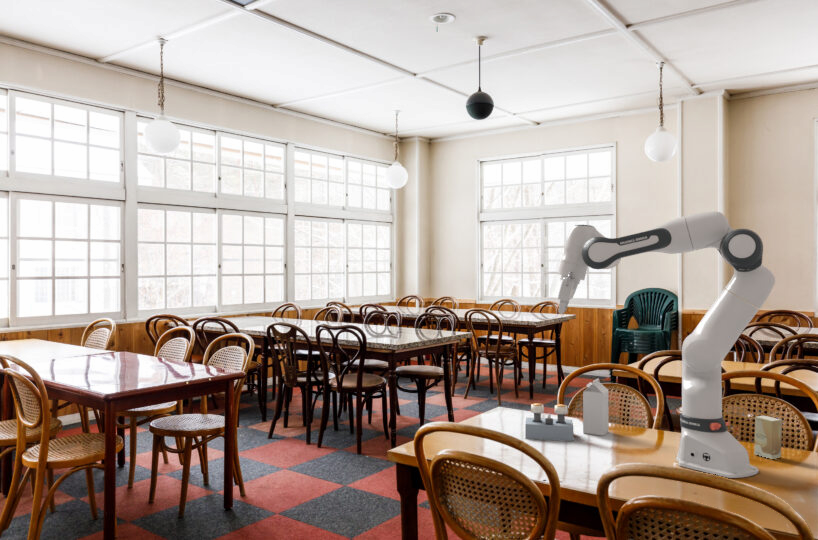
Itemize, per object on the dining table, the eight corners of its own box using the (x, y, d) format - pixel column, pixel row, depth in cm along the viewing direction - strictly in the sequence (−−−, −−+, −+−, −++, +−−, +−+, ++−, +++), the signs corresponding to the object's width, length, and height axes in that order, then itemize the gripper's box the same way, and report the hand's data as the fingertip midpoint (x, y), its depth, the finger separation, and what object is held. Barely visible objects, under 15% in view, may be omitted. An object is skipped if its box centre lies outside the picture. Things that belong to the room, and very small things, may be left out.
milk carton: (608, 431, 227) (608, 379, 227) (603, 436, 221) (603, 382, 221) (588, 429, 231) (588, 377, 231) (582, 433, 225) (582, 380, 225)
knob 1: (543, 424, 224) (543, 403, 224) (543, 427, 220) (543, 405, 220) (531, 424, 225) (531, 402, 225) (530, 427, 221) (530, 405, 221)
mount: (572, 433, 225) (572, 419, 225) (573, 441, 215) (573, 426, 215) (526, 431, 228) (526, 417, 228) (525, 438, 218) (525, 424, 218)
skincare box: (753, 455, 199) (753, 416, 199) (763, 453, 200) (763, 414, 200) (772, 460, 193) (772, 420, 193) (782, 459, 195) (782, 419, 195)
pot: (553, 423, 219) (552, 413, 219) (553, 425, 217) (553, 415, 217) (545, 422, 220) (545, 413, 220) (545, 424, 217) (545, 414, 217)
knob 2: (567, 426, 222) (567, 404, 222) (567, 429, 218) (567, 406, 218) (554, 425, 223) (554, 403, 223) (554, 428, 219) (554, 406, 219)
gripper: (579, 274, 199) (569, 317, 200) (583, 273, 219) (573, 312, 220) (560, 270, 201) (549, 312, 202) (565, 269, 221) (555, 307, 222)
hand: (561, 312), depth 211 cm, fingers open, 8 cm apart
